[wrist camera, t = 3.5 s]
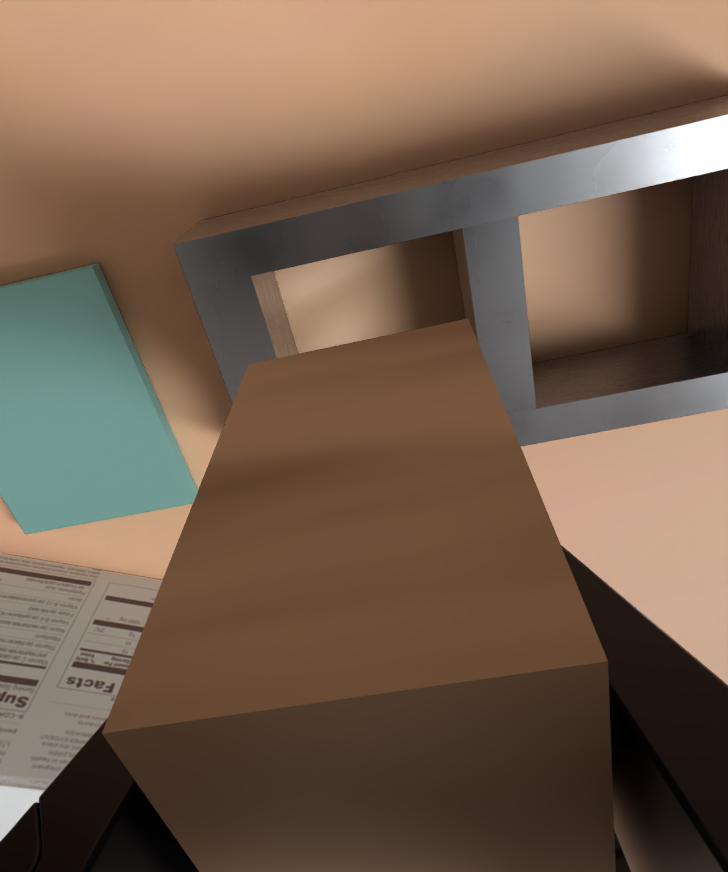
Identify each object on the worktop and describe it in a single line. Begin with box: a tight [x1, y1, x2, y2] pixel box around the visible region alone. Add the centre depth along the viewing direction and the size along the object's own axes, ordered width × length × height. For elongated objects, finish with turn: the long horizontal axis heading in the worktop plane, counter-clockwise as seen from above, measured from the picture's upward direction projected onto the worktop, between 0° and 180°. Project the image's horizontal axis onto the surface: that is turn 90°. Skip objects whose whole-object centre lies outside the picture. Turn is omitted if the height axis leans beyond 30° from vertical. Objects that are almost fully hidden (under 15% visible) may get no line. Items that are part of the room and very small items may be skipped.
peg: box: [102, 319, 616, 872], centre depth 10 cm, size 4×4×8 cm
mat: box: [0, 263, 198, 534], centre depth 22 cm, size 9×7×1 cm
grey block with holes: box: [173, 95, 728, 446], centre depth 18 cm, size 8×16×3 cm, turn 103°
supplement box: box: [0, 553, 163, 841], centre depth 26 cm, size 17×13×9 cm
